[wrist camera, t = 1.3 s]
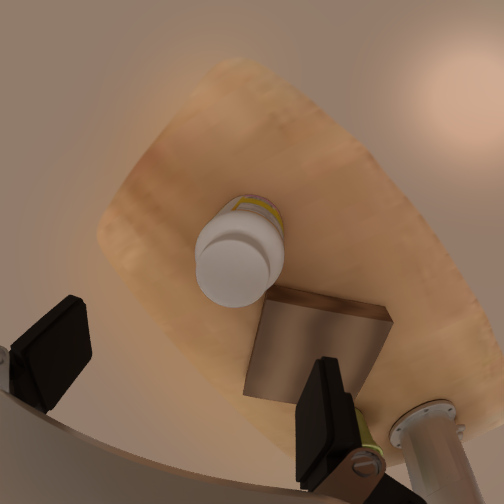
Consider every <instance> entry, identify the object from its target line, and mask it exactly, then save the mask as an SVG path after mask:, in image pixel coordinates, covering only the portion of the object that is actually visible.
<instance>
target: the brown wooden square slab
mask: <svg viewBox="0 0 504 504" xmlns="http://www.w3.org/2000/svg"><path fill="white" fill-rule="evenodd" d="M393 323H394V322H393V320H392V318H391V317H390V315H389V313H388V311H387V310H386V308H385V307H384V306H378V305H372V304H367V303H361V302H356V301H350V300H345V299H340V298H334V297H329V296H324V295H319V294H314V293H308V292H303V291H298V290H293V289H288V288H283V287H278V286H274V285H272V286H271V287H269V288H268V289H267V291H266V296H265V300H264V304H263V308H262V313H261V317H260V321H259V325H258V329H257V334H256V338H255V342H254V346H253V350H252V354H251V358H250V362H249V366H248V370H247V374H246V379H245V385H244V390H243V395H245V396H250V397H255V398H261V399H267V400H273V401H279V402H285V403H292V404H297V403H298V401H299V398H300V396H301V394H302V392H303V389H304V387H305V385H306V382H307V380H308V377H309V375H310V373H311V370H312V368H313V365H314V363H315V361H316V359H321V357H322V356H326V357H334V358H337V359H338V363H339V367H340V372H341V377H342V381H343V386H344V391H345V392H348V393H351V395H352V398H353V402H354V400H355V398H356V396H357V395H358V393H359V391H360V389H361V387H362V386H363V384H364V382H365V380H366V378H367V376H368V375H369V373H370V371H371V369H372V367H373V365H374V363H375V361H376V359H377V357H378V355H379V353H380V351H381V349H382V347H383V345H384V343H385V340H386V338H387V336H388V334H389V332H390V330H391V327H392V325H393Z"/></svg>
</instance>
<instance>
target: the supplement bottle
mask: <svg viewBox="0 0 504 504" xmlns="http://www.w3.org/2000/svg"><path fill="white" fill-rule="evenodd" d="M195 261H196V278H197V282H198V285H199V287H200V288H201V290H202V291H203V293H204V294H205V295H206V296H207V297H208V298H209V299H210V300H212V301H213V302H215V303H217V304H219V305H221V306H225V307H231V308H239V307H245V306H248V305H250V304H252V303H254V302H255V301H257V300H258V299H259V298H260V297H261V296H262V295H263V293H264V292H265V290H267V289H268V288H269V287H271V286H272V285H273V284H274V282H275V281H276V280H277V278H278V277H279V275H280V273H281V271H282V268H283V264H284V232H283V222H282V218H281V215H280V213H279V211H278V210H277V208H276V207H275V206H274V205H273V204H272V203H271V202H270V201H268V200H267V199H265V198H263V197H260V196H256V195H243V196H239V197H236V198H234V199H233V200H231V201H230V202H228V203H227V204H226V205H225V206H224V207H223V208H222V209H221V210H220V211H219V212H218V213H217V214H216V215H215V216H214V217H213V218H212V219H211V220H210V221H209V222H208V223H207V224H206V226H205V227H204V228H203V229H202V231H201V233H200V234H199V236H198V239H197V242H196V246H195Z"/></svg>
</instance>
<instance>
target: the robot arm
mask: <svg viewBox="0 0 504 504" xmlns="http://www.w3.org/2000/svg"><path fill="white" fill-rule="evenodd" d="M91 357H92V348H91V341H90V335H89V327H88V319H87V310H86V304H85V303H84V302H83V300H82V299H81V298H79V297H76V296H73V295H68V296H67V297H66V298H65V299H63V300H62V301H61V302H60V303H59V304H57V305H56V306H55V307H54V308H53V309H51V310H50V311H49V312H48V313H47V314H45V315H44V316H43V317H42V318H41V319H40V320H39V321H38V322H36V323H35V324H34V325H33V326H32V327H31V328H29V329H28V330H27V331H26V332H25V333H24V334H23V335H22V336H20V337H19V338H18V339H17V340H16V341H15V342H14V343H13V344H12V345H11V350H10V351H9V352H8V350H7V349H6V348H5V347H3V346H0V504H485V502H484V500H483V497H482V495H481V492H480V490H479V487H478V484H477V482H476V479H475V476H474V474H473V471H472V468H471V466H470V463H469V461H468V458H467V456H466V454H465V451H464V449H463V447H462V444H461V442H460V440H461V439H462V438H463V432H462V431H464V430H465V425H464V424H461V425H456V423H455V420H454V418H455V416H456V409H455V407H454V405H453V404H452V403H451V402H449V401H446V400H437V401H432V402H429V403H426V404H423V405H421V406H419V407H417V408H415V409H413V410H411V411H410V412H408V413H407V414H405V415H404V416H403V417H402V418H400V419H399V420H398V421H397V422H396V424H395V425H394V426H393V427H392V429H391V431H390V434H389V438H390V442H391V444H392V445H393V446H394V447H396V448H399V449H402V451H403V455H404V459H405V462H406V466H407V470H408V474H409V478H410V481H411V485H412V490H413V491H411V490H409V489H408V488H407V487H405V486H404V485H402V484H400V483H399V482H397V481H396V480H395V479H393V478H392V477H390V476H389V475H387V474H386V473H385V471H386V462H385V459H384V458H383V457H382V455H381V454H380V453H378V452H377V451H375V450H373V449H371V448H366V447H363V446H362V441H361V436H360V431H359V426H358V421H357V416H356V412H355V407H354V402H353V398H352V395H351V393H348V392H345V391H344V386H343V381H342V377H341V372H340V367H339V363H338V359H337V358H334V357H326V356H322V357H321V359H316V361H315V363H314V365H313V368H312V370H311V373H310V375H309V377H308V380H307V382H306V385H305V387H304V389H303V392H302V394H301V396H300V398H299V401H298V403H297V406H296V411H295V424H296V482H300V489H303V490H308V492H306V491H301V490H292V489H284V488H278V487H269V486H262V485H255V484H249V483H242V482H237V481H232V480H226V479H221V478H216V477H211V476H206V475H202V474H198V473H194V472H190V471H186V470H182V469H178V468H175V467H171V466H168V465H164V464H161V463H158V462H155V461H152V460H148V459H146V458H143V457H140V456H137V455H134V454H131V453H128V452H126V451H123V450H120V449H118V448H115V447H113V446H110V445H107V444H105V443H103V442H100V441H98V440H96V439H94V438H92V437H89V436H87V435H85V434H83V433H81V432H78V431H76V430H74V429H72V428H70V427H68V426H66V425H64V424H62V423H60V422H58V421H56V420H55V419H53V418H51V417H49V416H47V415H46V413H47V412H48V411H49V410H52V409H53V408H54V407H55V406H56V404H57V403H58V401H59V400H60V399H61V397H62V396H63V395H64V394H65V392H66V391H67V389H68V388H69V387H70V386H71V384H72V383H73V382H74V380H75V379H76V378H77V376H78V375H79V374H80V373H81V371H82V370H83V369H84V367H85V366H86V365H87V363H88V362H89V361H90V360H91Z"/></svg>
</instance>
